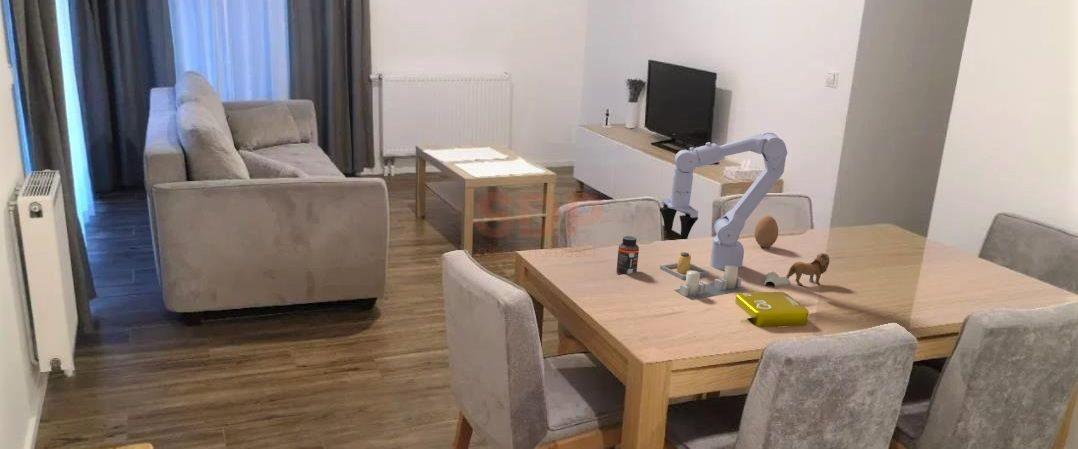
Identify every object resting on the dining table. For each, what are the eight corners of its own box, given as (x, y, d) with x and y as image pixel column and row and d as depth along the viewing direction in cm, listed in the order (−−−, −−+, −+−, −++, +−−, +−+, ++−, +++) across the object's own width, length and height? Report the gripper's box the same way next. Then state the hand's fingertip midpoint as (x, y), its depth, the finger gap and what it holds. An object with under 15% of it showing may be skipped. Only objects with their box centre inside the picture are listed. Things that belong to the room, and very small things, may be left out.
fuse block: (727, 285, 248) (728, 272, 247) (746, 294, 241) (748, 281, 240) (672, 295, 238) (673, 281, 237) (691, 305, 231) (692, 291, 230)
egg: (780, 247, 288) (784, 216, 285) (769, 252, 282) (773, 220, 279) (759, 242, 292) (763, 211, 289) (748, 246, 287) (752, 215, 284)
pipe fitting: (788, 287, 251) (765, 282, 253) (791, 275, 250) (768, 270, 252) (786, 296, 244) (762, 290, 246) (789, 283, 243) (765, 278, 245)
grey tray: (685, 269, 260) (686, 261, 259) (707, 279, 252) (708, 271, 251) (659, 273, 255) (660, 265, 254) (681, 284, 247) (682, 276, 246)
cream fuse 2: (729, 283, 245) (732, 263, 243) (738, 287, 242) (740, 267, 240) (720, 285, 243) (722, 265, 242) (728, 289, 240) (731, 269, 239)
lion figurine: (818, 278, 259) (823, 250, 257) (830, 284, 254) (835, 255, 252) (778, 282, 253) (783, 253, 251) (790, 288, 249) (794, 259, 246)
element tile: (809, 327, 222) (812, 310, 221) (755, 329, 219) (758, 311, 217) (782, 305, 236) (784, 289, 235) (731, 307, 233) (733, 290, 231)
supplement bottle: (635, 279, 249) (638, 241, 246) (615, 276, 250) (618, 239, 247) (637, 272, 255) (640, 236, 251) (617, 270, 256) (620, 233, 253)
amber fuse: (682, 272, 256) (684, 251, 254) (691, 275, 253) (693, 254, 251) (674, 274, 253) (676, 252, 252) (682, 277, 251) (684, 255, 249)
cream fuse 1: (691, 290, 238) (694, 269, 236) (700, 294, 235) (702, 273, 233) (681, 292, 236) (684, 271, 234) (690, 296, 233) (692, 275, 232)
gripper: (655, 185, 259) (650, 228, 262) (687, 197, 247) (681, 242, 251) (673, 184, 262) (668, 226, 266) (705, 196, 250) (699, 240, 254)
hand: (676, 234), depth 258 cm, fingers open, 7 cm apart
